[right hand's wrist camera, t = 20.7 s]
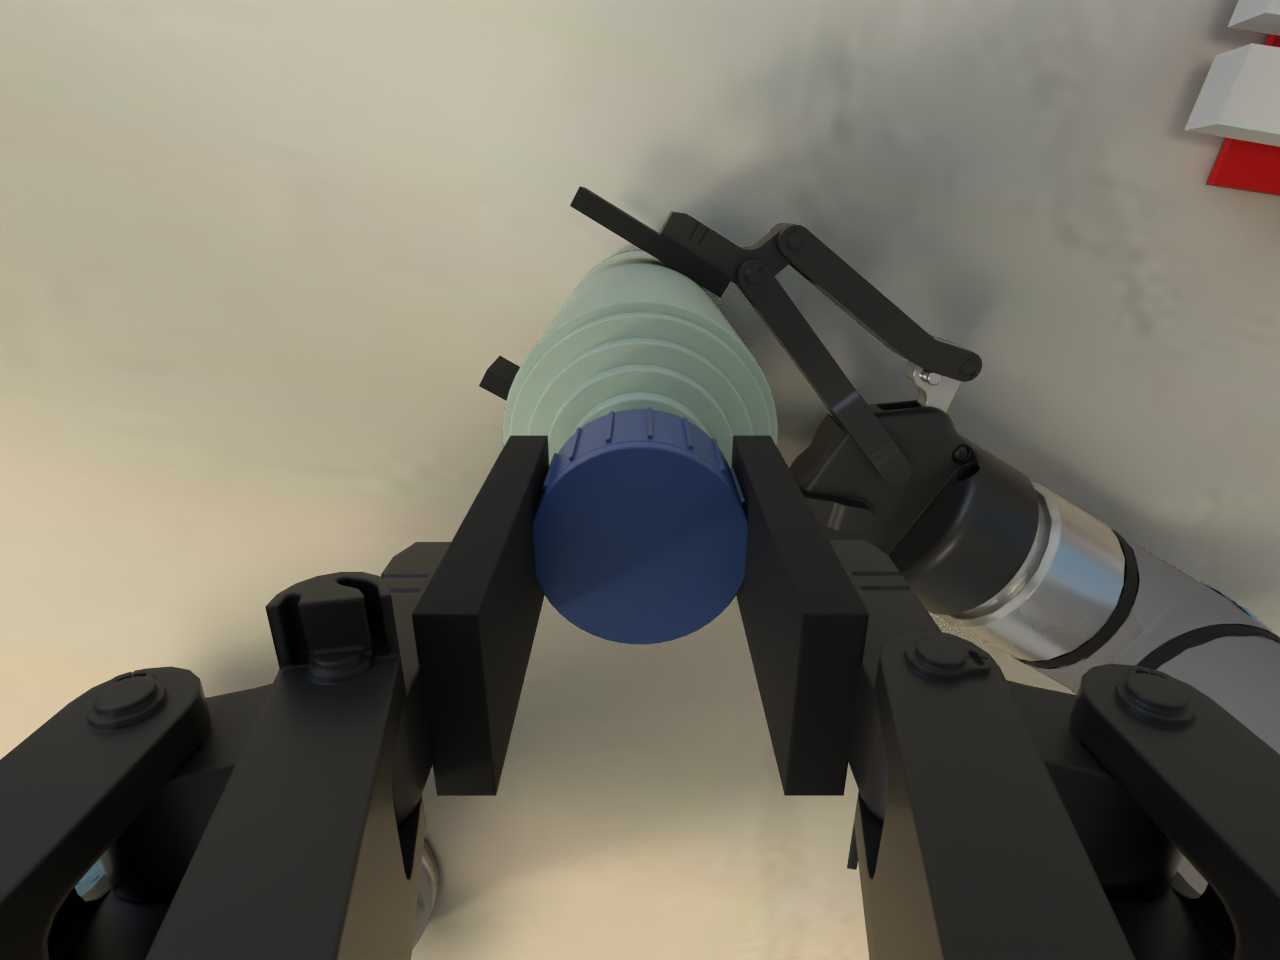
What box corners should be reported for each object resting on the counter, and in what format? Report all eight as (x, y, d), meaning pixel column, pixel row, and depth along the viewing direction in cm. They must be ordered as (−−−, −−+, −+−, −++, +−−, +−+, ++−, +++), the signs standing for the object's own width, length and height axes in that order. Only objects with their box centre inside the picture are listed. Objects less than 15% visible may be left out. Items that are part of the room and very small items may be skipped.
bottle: (611, 221, 33) (556, 263, 11) (738, 297, 34) (910, 467, 12) (544, 352, 35) (389, 597, 13) (665, 418, 36) (704, 741, 15)
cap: (778, 493, 14) (802, 544, 12) (647, 616, 15) (648, 683, 13) (633, 364, 13) (632, 395, 11) (504, 506, 14) (480, 560, 12)
